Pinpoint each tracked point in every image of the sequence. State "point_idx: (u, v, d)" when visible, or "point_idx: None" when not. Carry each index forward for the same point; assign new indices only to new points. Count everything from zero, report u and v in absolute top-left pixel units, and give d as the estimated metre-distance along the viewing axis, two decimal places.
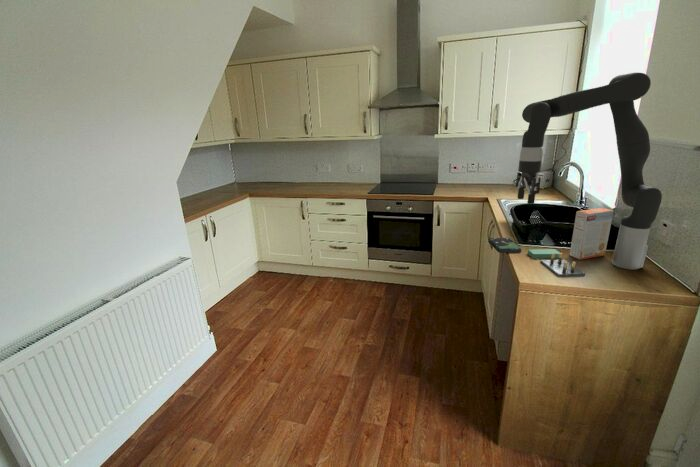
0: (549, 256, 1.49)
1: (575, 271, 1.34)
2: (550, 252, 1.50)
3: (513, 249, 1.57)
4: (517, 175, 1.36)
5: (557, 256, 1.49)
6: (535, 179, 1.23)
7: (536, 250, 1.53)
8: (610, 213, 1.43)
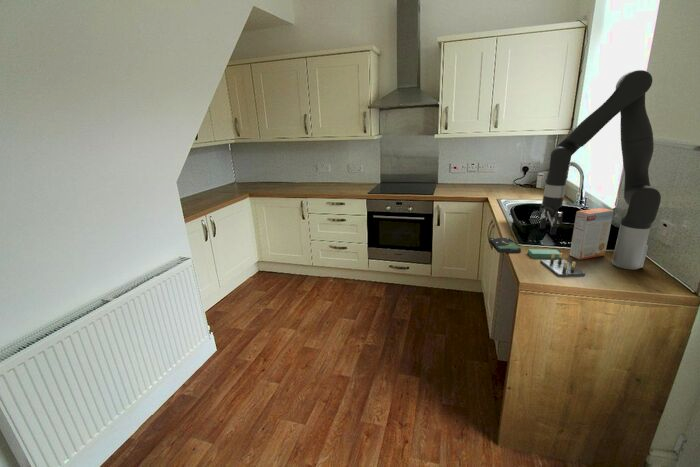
0: (548, 256, 1.49)
1: (575, 271, 1.34)
2: (550, 252, 1.50)
3: (512, 249, 1.57)
4: (540, 207, 1.52)
5: (557, 256, 1.49)
6: (558, 214, 1.39)
7: (536, 250, 1.53)
8: (610, 213, 1.43)
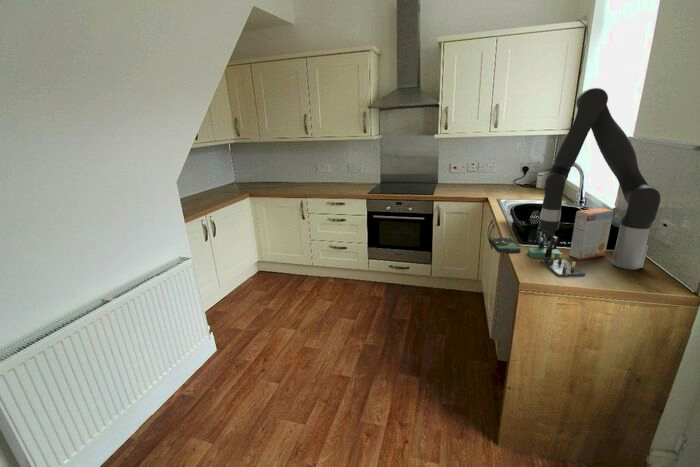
0: None
1: (575, 271, 1.34)
2: None
3: (512, 249, 1.57)
4: (537, 230, 1.55)
5: (557, 256, 1.48)
6: (554, 239, 1.43)
7: (536, 249, 1.53)
8: (610, 213, 1.43)
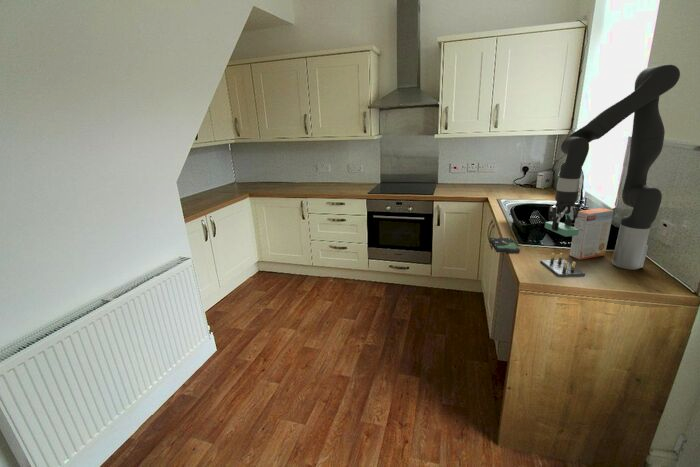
0: None
1: (575, 271, 1.34)
2: (562, 227, 1.36)
3: (511, 249, 1.57)
4: None
5: (562, 232, 1.34)
6: (550, 208, 1.35)
7: (559, 223, 1.41)
8: (610, 213, 1.43)
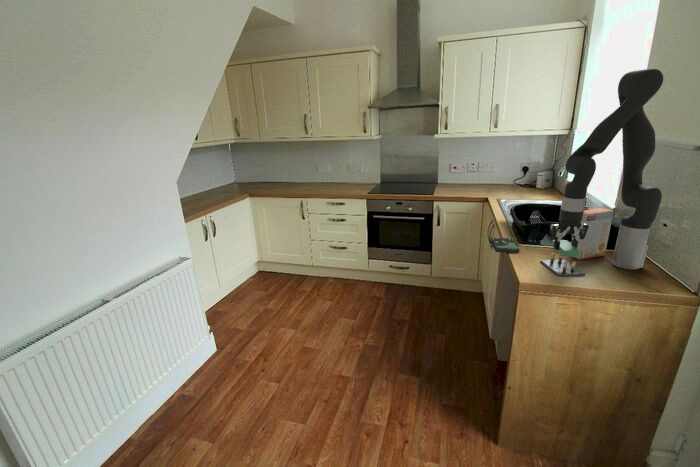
0: None
1: (575, 271, 1.34)
2: (564, 246, 1.34)
3: (511, 249, 1.57)
4: None
5: (561, 251, 1.33)
6: (550, 226, 1.34)
7: (566, 242, 1.38)
8: (610, 213, 1.43)
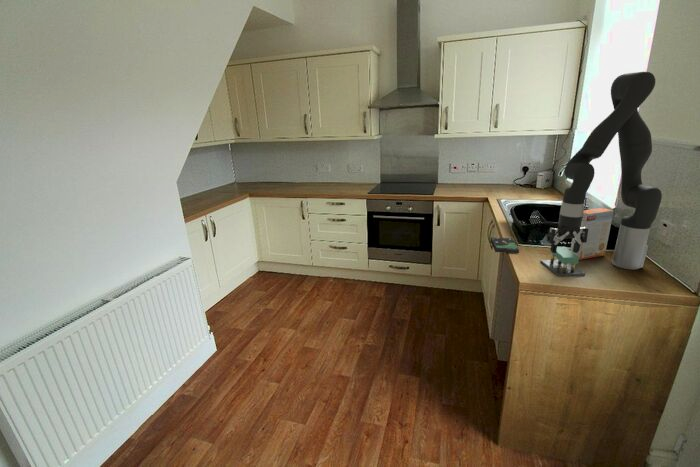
0: (557, 255, 1.37)
1: (575, 271, 1.34)
2: (563, 253, 1.35)
3: (510, 249, 1.57)
4: None
5: (561, 258, 1.33)
6: (550, 229, 1.34)
7: (565, 249, 1.39)
8: (610, 213, 1.43)
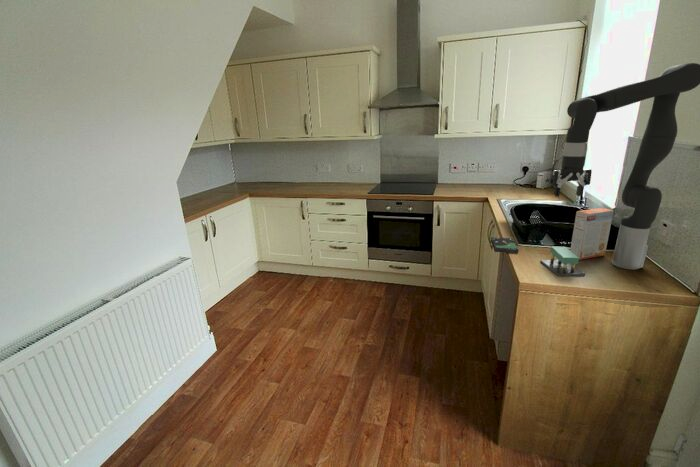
0: (557, 255, 1.37)
1: (575, 271, 1.34)
2: (563, 253, 1.35)
3: (510, 249, 1.57)
4: None
5: (561, 258, 1.33)
6: (553, 172, 1.33)
7: (565, 249, 1.39)
8: (610, 213, 1.43)
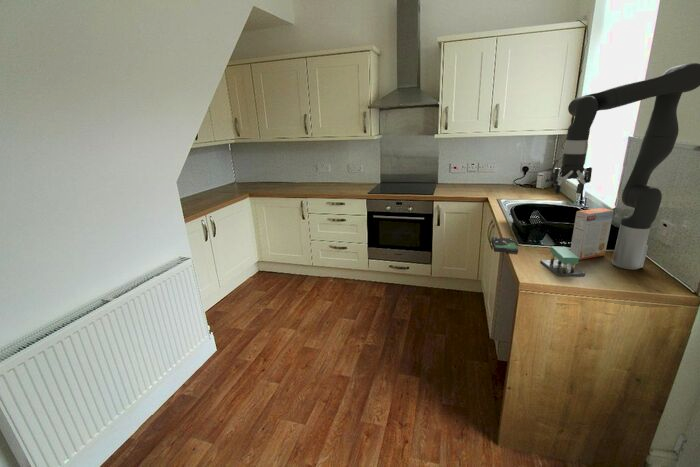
0: (557, 255, 1.37)
1: (575, 271, 1.34)
2: (563, 253, 1.35)
3: (509, 249, 1.57)
4: None
5: (561, 258, 1.33)
6: (553, 169, 1.33)
7: (565, 249, 1.39)
8: (610, 213, 1.43)
